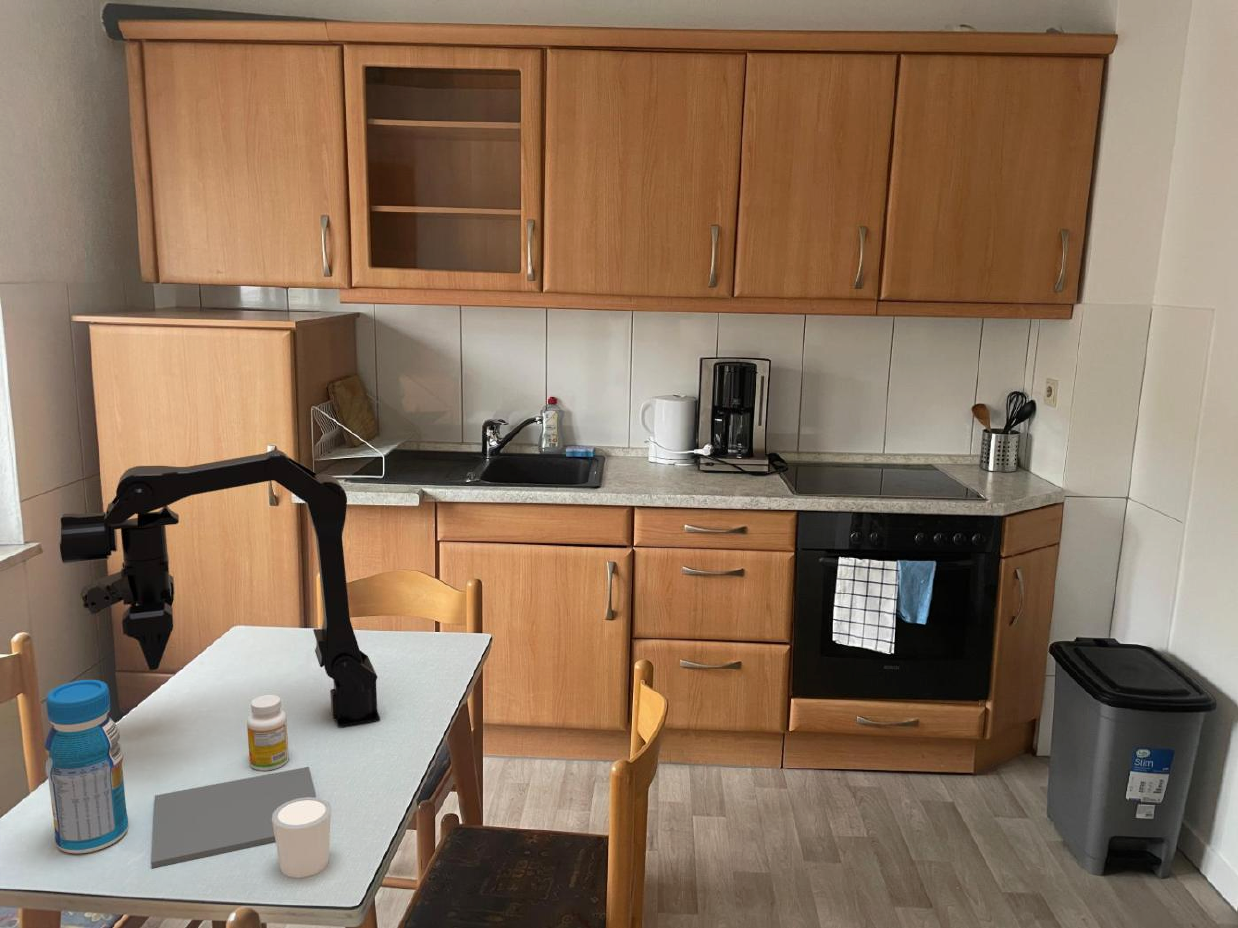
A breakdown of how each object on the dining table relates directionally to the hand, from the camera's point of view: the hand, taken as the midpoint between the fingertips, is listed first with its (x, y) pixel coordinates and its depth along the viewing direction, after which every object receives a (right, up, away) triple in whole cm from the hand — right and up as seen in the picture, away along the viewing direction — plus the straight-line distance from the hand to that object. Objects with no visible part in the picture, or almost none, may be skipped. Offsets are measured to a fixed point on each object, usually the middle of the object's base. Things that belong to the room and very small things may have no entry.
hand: (154, 657), depth 140 cm
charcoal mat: (+18, -18, -14) cm, 29 cm away
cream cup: (+30, -21, -23) cm, 43 cm away
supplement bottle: (+17, -16, 0) cm, 23 cm away
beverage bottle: (+1, -19, -19) cm, 27 cm away
